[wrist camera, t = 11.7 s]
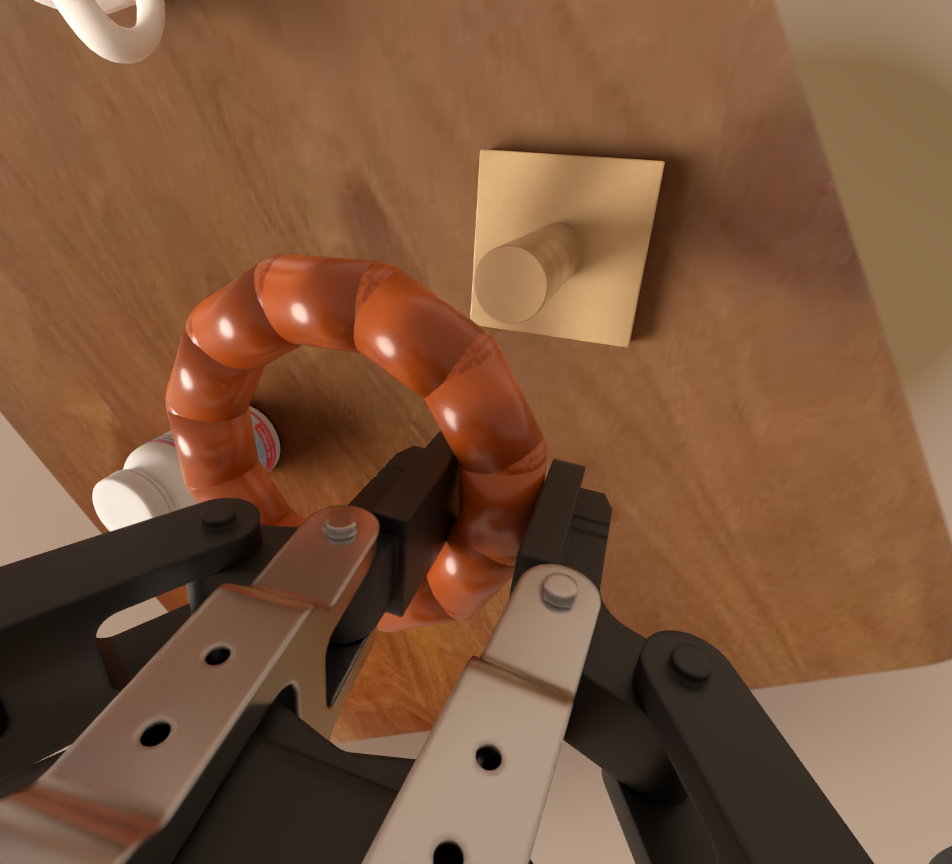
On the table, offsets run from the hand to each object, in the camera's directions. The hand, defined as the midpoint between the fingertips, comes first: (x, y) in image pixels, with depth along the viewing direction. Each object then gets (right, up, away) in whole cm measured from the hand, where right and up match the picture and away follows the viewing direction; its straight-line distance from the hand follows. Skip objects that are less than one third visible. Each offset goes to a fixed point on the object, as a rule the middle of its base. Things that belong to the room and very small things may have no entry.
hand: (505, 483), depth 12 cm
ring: (-4, 0, 0) cm, 4 cm away
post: (+4, +11, +17) cm, 20 cm away
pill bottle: (-18, +1, +29) cm, 35 cm away
